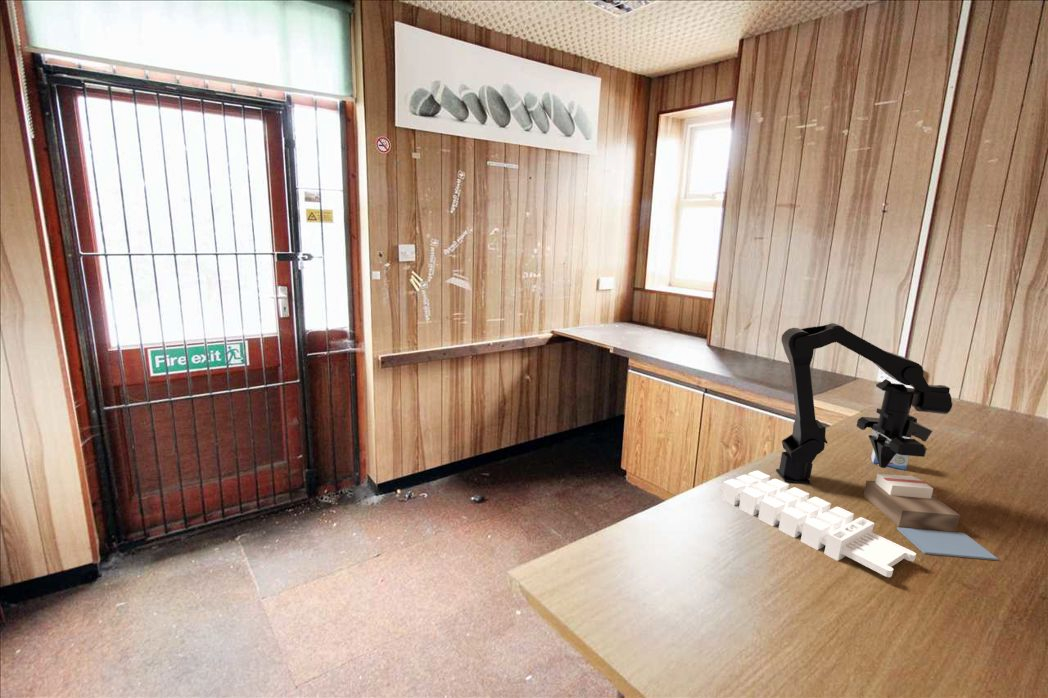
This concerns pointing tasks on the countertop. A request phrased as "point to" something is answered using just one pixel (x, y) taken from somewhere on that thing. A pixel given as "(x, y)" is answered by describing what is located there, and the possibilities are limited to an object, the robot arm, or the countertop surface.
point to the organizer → (814, 521)
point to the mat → (946, 543)
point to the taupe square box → (912, 510)
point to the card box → (904, 486)
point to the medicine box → (894, 460)
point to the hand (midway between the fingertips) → (882, 467)
